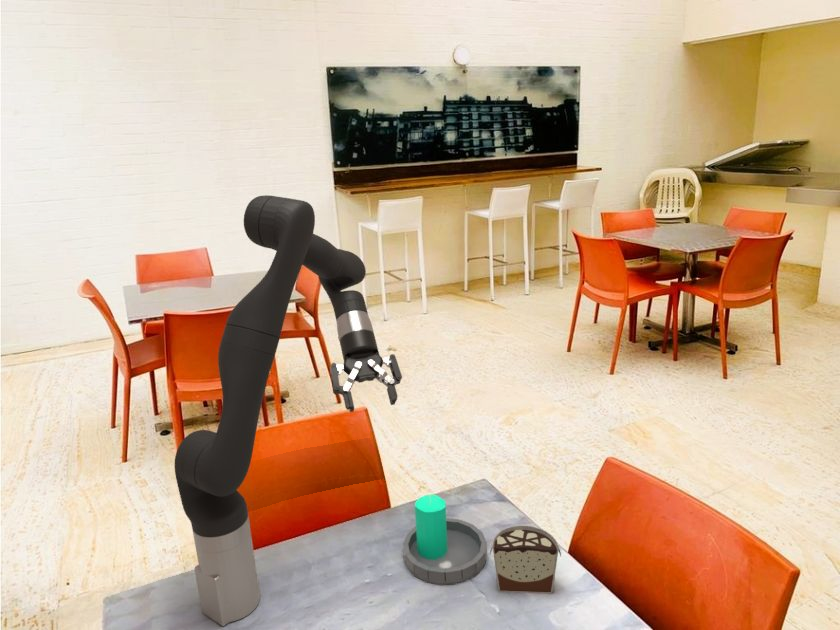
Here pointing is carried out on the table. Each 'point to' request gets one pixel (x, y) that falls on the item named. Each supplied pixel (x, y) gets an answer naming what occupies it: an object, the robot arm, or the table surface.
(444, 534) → the candle
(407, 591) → the table surface
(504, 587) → the food container
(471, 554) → the plate
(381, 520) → the table surface
